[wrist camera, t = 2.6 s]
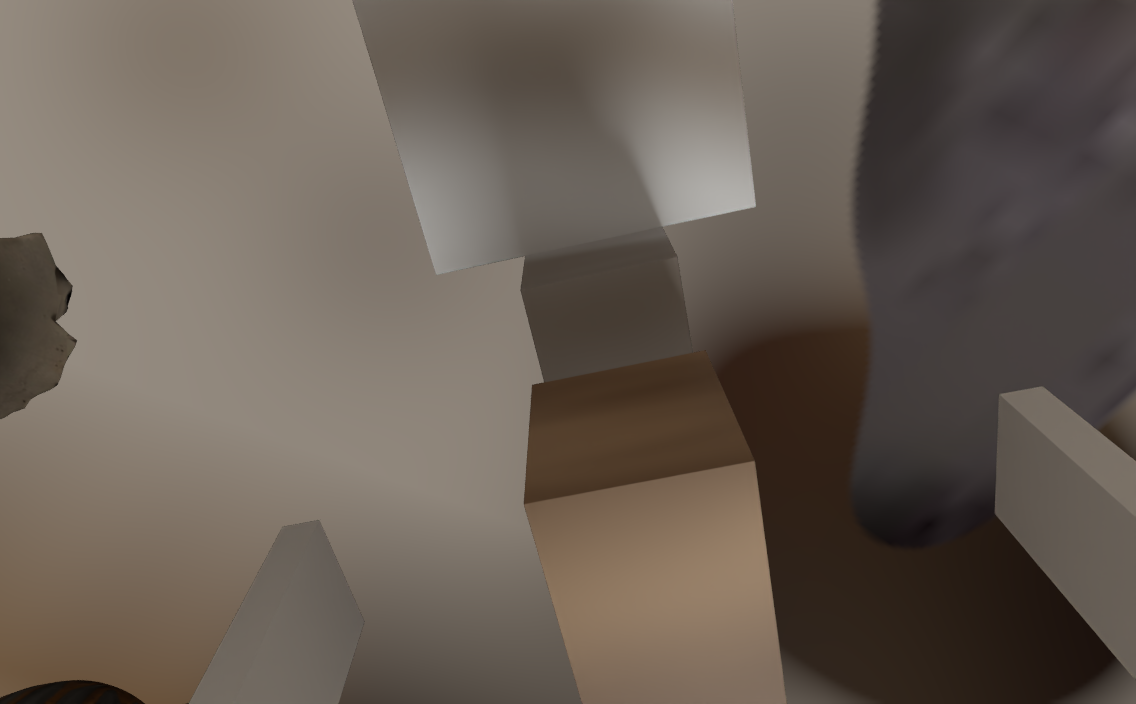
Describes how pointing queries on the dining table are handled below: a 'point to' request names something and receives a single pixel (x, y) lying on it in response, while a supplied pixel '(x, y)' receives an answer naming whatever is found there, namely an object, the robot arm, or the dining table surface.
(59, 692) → the vase
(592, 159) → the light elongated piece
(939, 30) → the dining table surface
